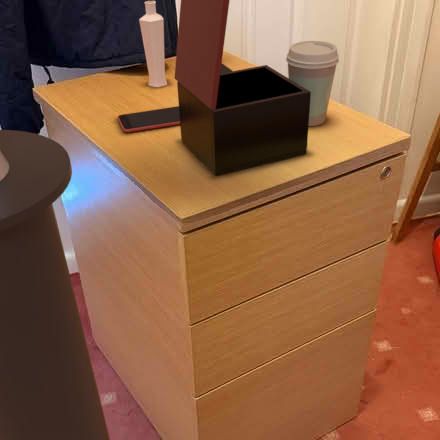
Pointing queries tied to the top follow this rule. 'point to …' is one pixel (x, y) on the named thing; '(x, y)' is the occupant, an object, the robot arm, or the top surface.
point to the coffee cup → (314, 74)
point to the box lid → (201, 47)
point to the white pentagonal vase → (153, 44)
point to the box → (246, 120)
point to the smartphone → (149, 119)
